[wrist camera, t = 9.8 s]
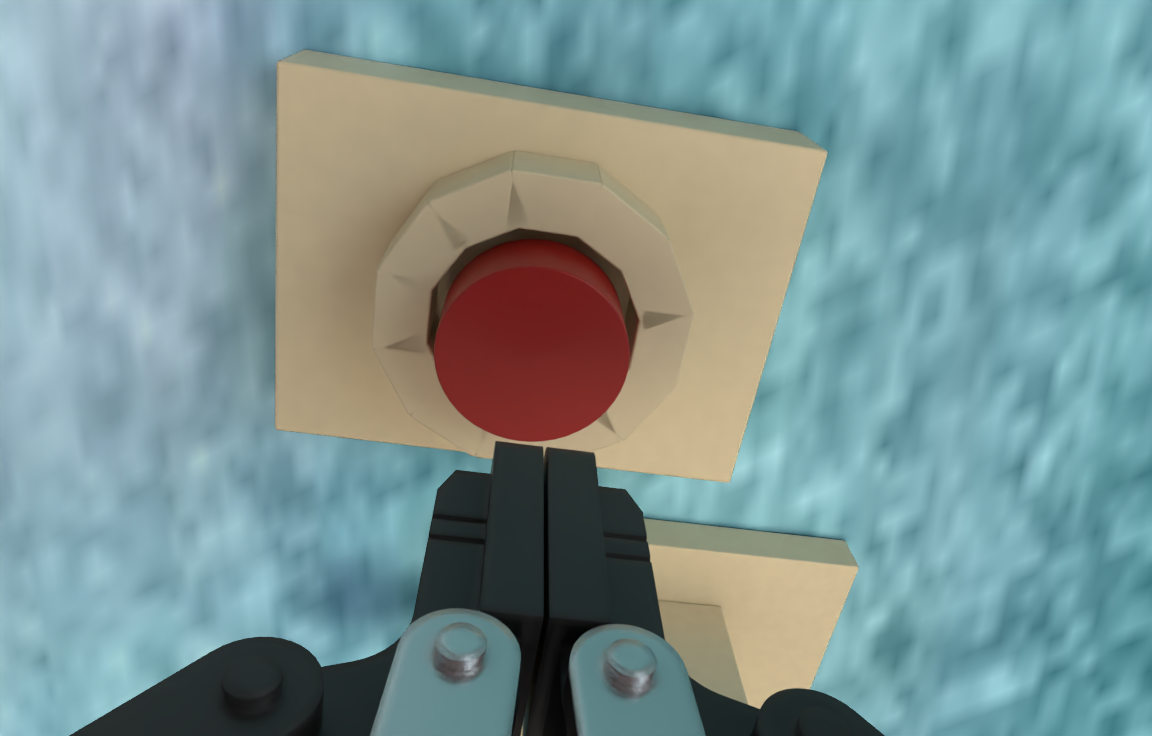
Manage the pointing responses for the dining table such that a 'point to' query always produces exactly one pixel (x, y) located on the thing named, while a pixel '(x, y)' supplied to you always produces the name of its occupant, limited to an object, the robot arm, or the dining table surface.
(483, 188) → the button block
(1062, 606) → the dining table surface
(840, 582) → the lever base
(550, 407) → the button
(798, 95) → the dining table surface
